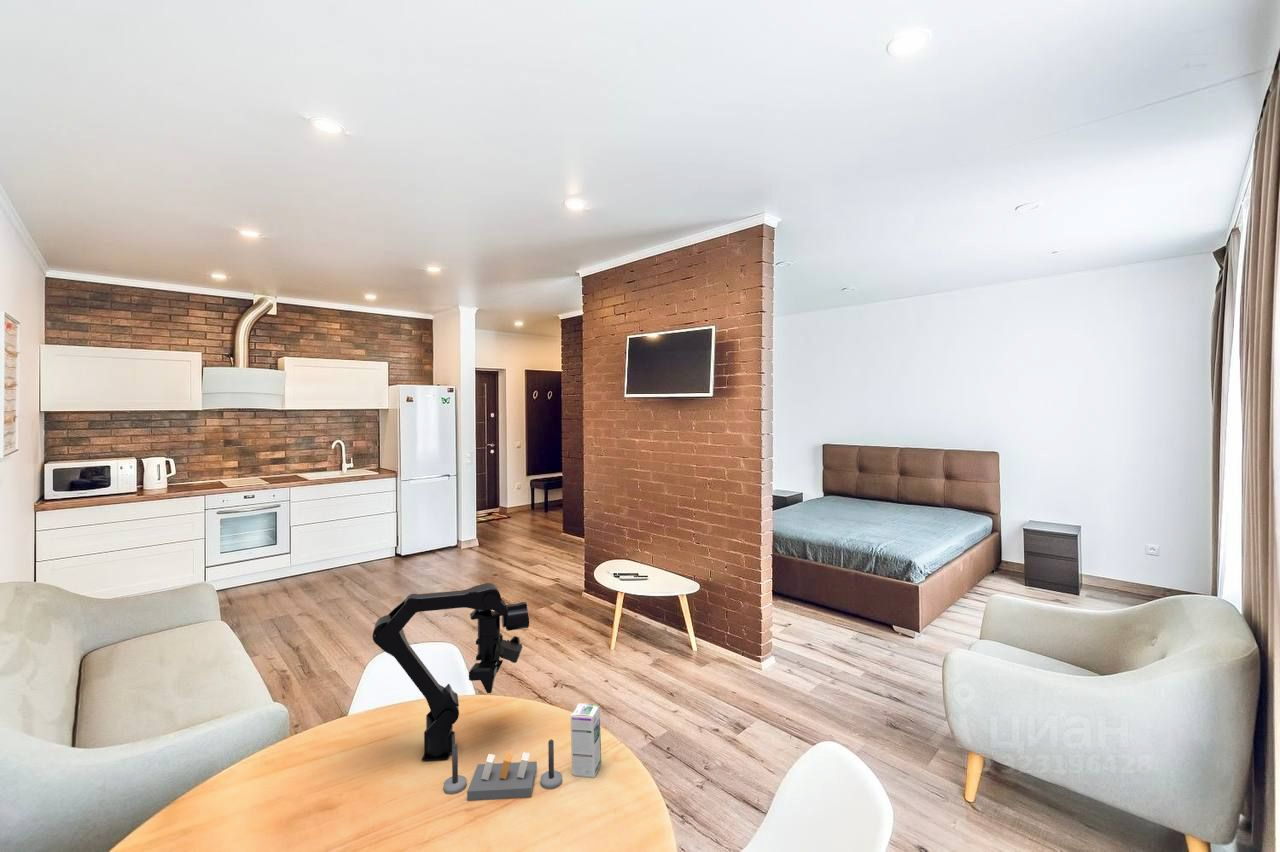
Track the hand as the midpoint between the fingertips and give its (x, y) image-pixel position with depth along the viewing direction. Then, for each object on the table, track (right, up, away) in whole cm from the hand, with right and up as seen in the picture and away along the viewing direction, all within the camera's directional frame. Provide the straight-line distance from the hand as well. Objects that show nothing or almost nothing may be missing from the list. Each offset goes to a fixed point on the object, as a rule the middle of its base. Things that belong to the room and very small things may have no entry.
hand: (489, 692), depth 143 cm
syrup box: (+27, -13, -13) cm, 32 cm away
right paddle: (+12, -11, -18) cm, 24 cm away
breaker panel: (+8, -13, -18) cm, 23 cm away
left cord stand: (-3, -13, -18) cm, 23 cm away
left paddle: (+4, -11, -18) cm, 21 cm away
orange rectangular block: (+8, -11, -18) cm, 22 cm away
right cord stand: (+19, -12, -17) cm, 29 cm away
